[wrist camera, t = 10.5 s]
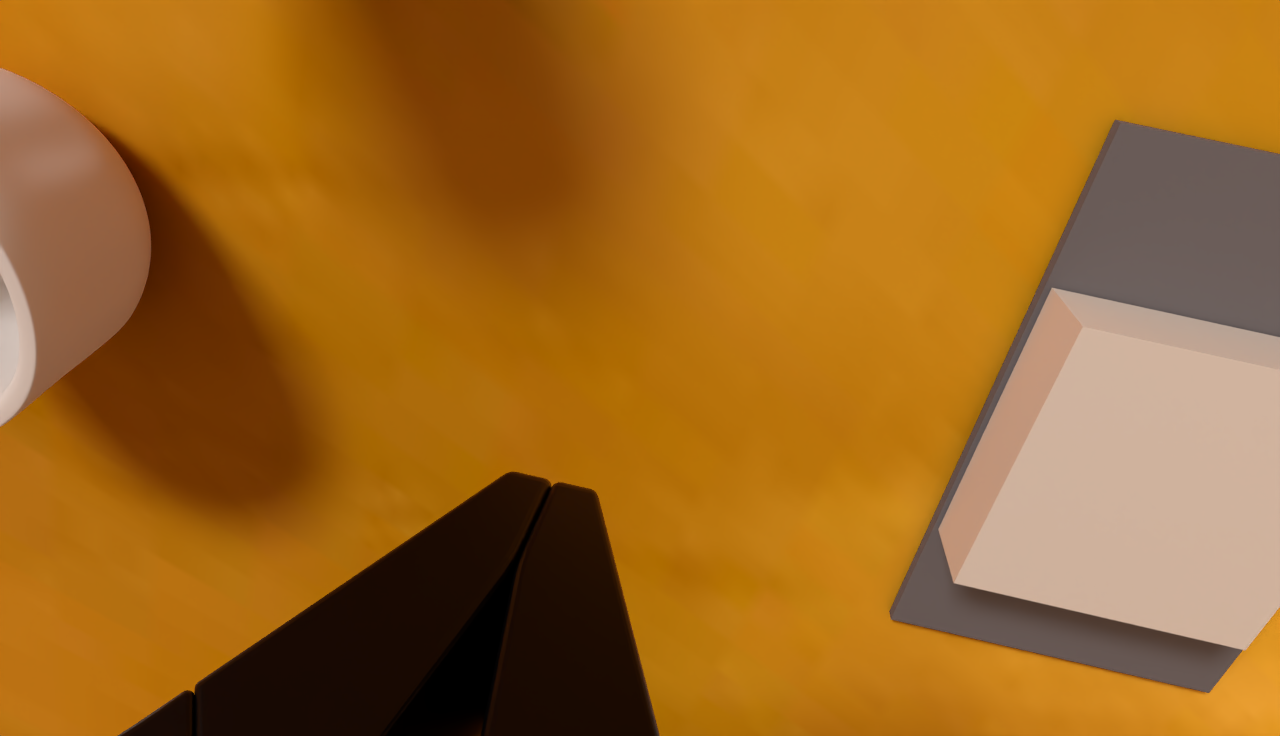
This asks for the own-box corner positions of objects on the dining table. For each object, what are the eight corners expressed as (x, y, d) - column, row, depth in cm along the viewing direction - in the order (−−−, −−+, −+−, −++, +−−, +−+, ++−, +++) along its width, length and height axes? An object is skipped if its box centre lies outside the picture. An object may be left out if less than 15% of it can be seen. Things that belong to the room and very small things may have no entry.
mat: (1204, 684, 23) (1209, 692, 23) (889, 611, 23) (890, 618, 23) (1567, 214, 16) (1581, 218, 16) (1115, 120, 16) (1120, 123, 16)
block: (937, 528, 21) (1204, 589, 21) (953, 583, 20) (1245, 650, 19) (1051, 286, 18) (1371, 356, 18) (1082, 327, 16) (1439, 404, 16)
